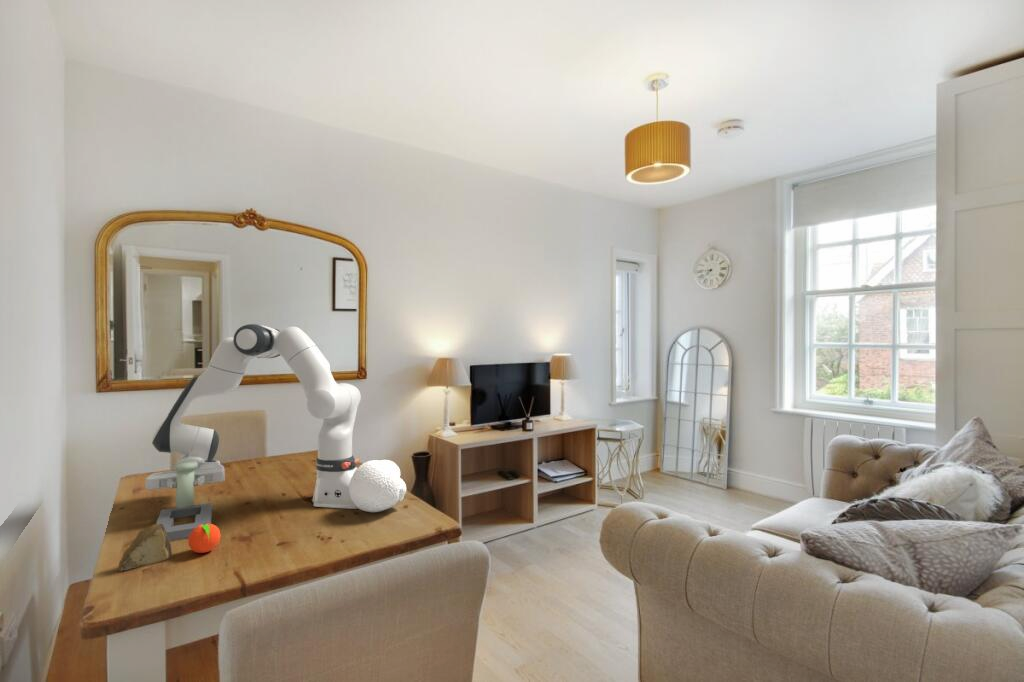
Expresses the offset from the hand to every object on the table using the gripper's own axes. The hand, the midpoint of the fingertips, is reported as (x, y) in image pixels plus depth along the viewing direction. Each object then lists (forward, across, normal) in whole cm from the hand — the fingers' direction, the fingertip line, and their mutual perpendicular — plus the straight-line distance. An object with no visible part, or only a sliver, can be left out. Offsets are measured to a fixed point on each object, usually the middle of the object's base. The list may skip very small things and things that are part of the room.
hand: (185, 484), depth 141 cm
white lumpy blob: (+18, +52, +10) cm, 56 cm away
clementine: (+28, +6, +11) cm, 31 cm away
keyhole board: (+4, 0, +11) cm, 12 cm away
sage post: (-1, 0, +6) cm, 7 cm away
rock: (+28, -6, +11) cm, 30 cm away
